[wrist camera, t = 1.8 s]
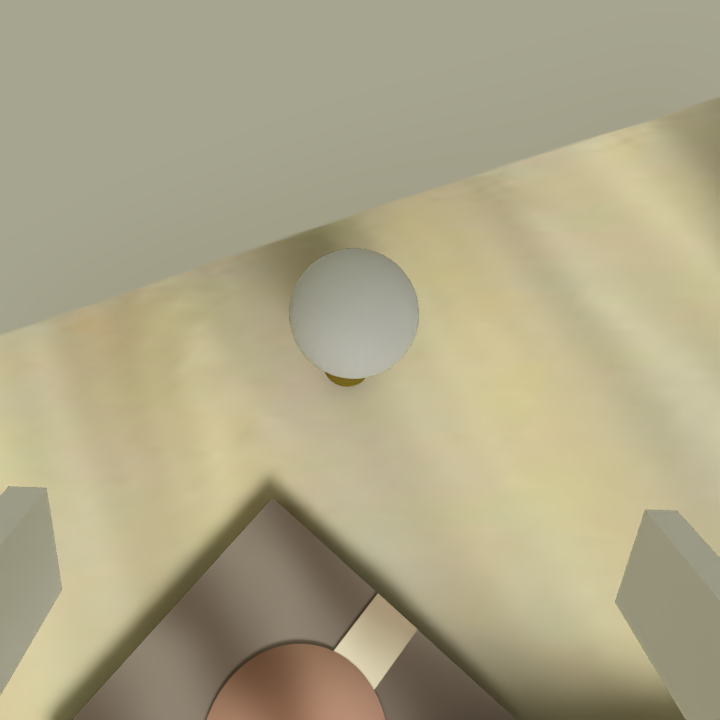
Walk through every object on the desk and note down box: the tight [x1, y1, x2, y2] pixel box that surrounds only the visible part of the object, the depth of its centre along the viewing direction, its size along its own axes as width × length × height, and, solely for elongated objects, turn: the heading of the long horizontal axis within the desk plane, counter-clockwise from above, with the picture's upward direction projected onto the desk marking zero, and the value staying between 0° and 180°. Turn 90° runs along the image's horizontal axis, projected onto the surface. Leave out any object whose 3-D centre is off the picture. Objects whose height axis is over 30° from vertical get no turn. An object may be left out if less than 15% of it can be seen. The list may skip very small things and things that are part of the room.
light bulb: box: [289, 248, 419, 386], centre depth 28 cm, size 6×6×10 cm
